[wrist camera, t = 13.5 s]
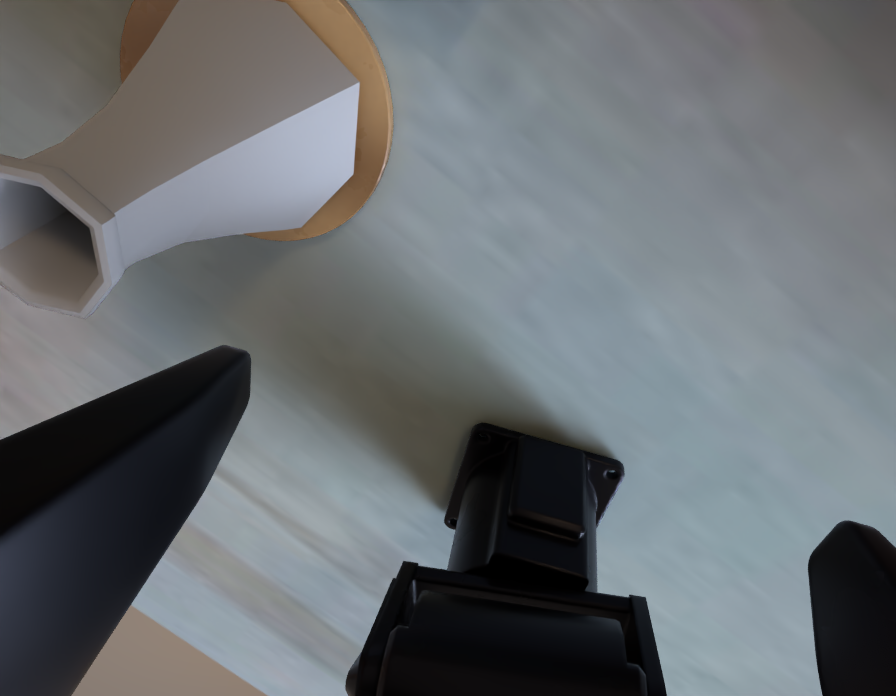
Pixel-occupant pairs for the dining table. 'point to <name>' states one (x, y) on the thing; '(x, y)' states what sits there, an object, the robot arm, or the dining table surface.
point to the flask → (182, 153)
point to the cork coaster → (353, 46)
